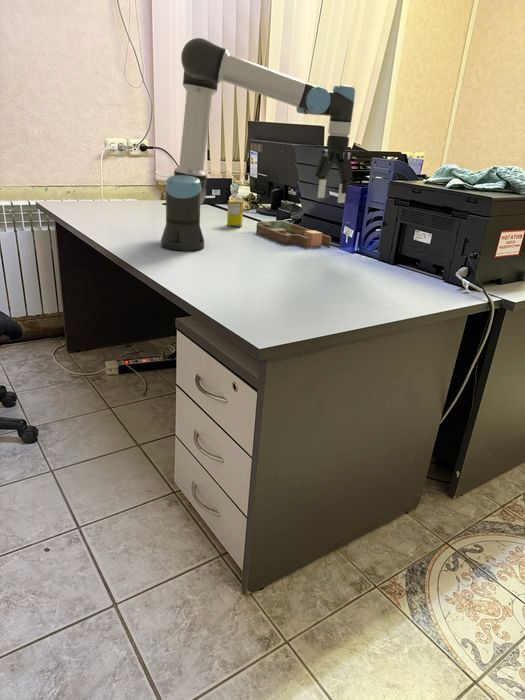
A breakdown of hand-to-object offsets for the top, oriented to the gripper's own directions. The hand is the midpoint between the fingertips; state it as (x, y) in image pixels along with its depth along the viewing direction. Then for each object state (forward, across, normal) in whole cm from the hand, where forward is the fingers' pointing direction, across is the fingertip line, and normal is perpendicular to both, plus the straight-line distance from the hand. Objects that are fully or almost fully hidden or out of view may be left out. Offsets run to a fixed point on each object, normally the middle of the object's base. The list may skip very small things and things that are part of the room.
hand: (330, 200), depth 184 cm
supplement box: (+18, +47, +13) cm, 52 cm away
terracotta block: (+18, +8, 0) cm, 20 cm away
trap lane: (+18, +21, +3) cm, 28 cm away
